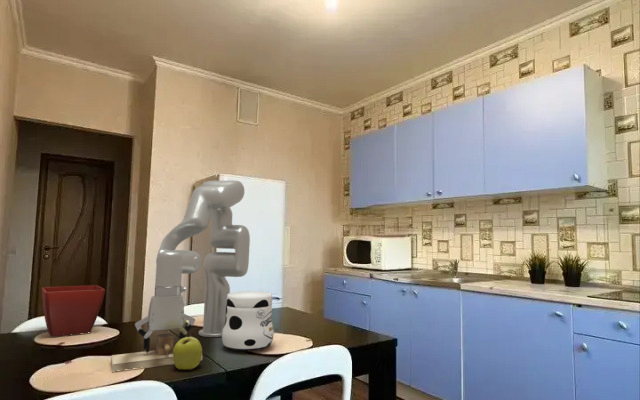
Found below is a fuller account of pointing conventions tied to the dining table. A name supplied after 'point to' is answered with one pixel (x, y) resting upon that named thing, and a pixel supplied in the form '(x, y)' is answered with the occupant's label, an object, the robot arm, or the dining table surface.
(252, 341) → the milk container
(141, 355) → the board
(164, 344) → the mallet
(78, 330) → the plant pot
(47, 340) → the dining table surface
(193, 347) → the apple
